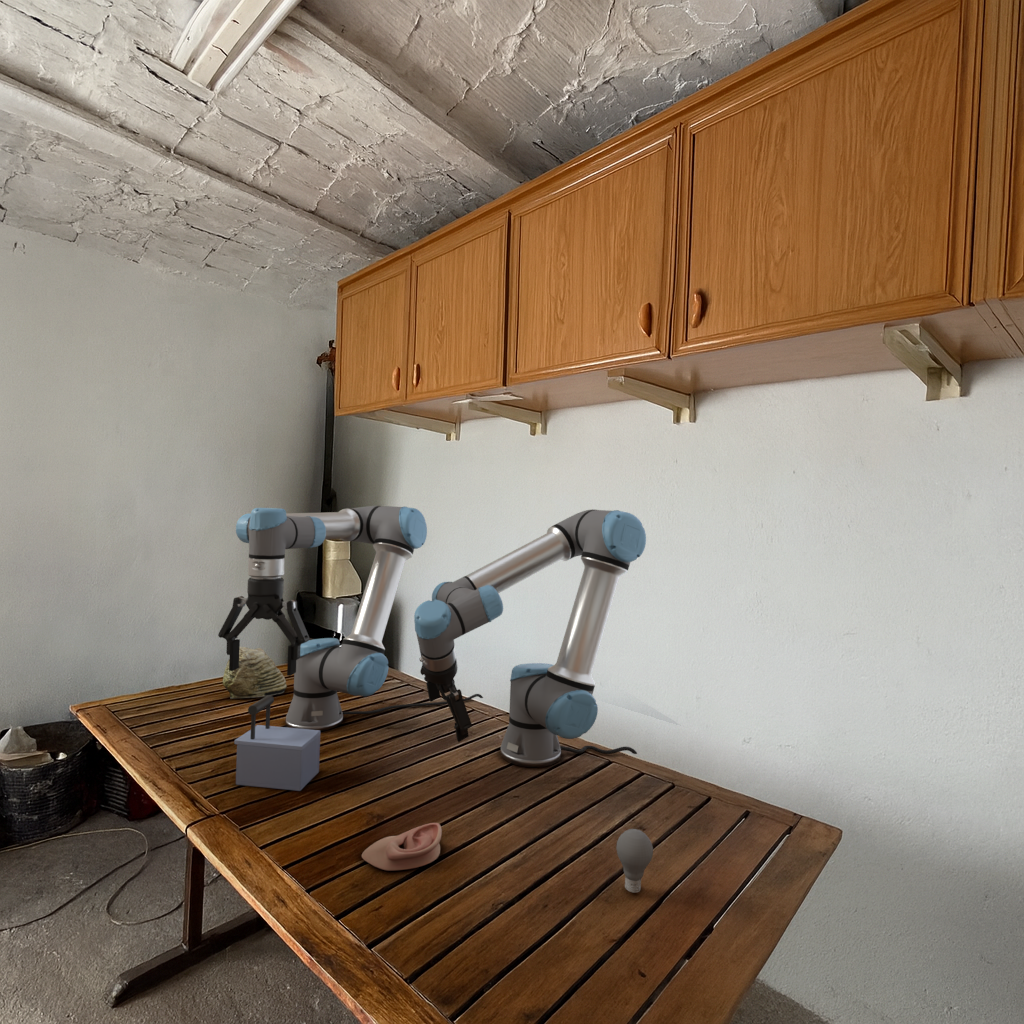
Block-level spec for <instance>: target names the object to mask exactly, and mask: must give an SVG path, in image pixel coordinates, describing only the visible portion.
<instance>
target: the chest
mask: <svg viewBox="0 0 1024 1024" xmlns="http://www.w3.org/2000/svg"><path fill="white" fill-rule="evenodd" d="M320 753H321V734H320V735H319V736H318V737H316V738H315V739H314V740H313V741H312V742H311V743H309V744H308V745H307V746H306V747H305V748H304V749H303V750H293V749H282V748H271V747H260V746H249V745H238V744H236V763H235V764H236V765H235V767H236V768H235V785H237V786H245V787H246V786H247V787H257V788H266V789H267V788H268V789H276V790H285V791H296V792H301V791H302V790H303V789H304V788H305V787H306V786H307V785H308V784H309V783H310V782H311V781H312V780H313V779H314V778H315V777H316V776H317V775H318V774H319V772H320V755H321V754H320Z"/></svg>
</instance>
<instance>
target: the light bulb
mask: <svg viewBox="0 0 1024 1024" xmlns="http://www.w3.org/2000/svg"><path fill="white" fill-rule="evenodd" d="M615 849H616V854H617V857H618V859H619V861H620V863H621V865H622V867H623V873H624V874H623V875H624V876H625V878H624V888H625V890H627V891H628V892H630V893H634V894H635V893H639V892H640V891H641V889H642V887H641V886H642V879H643V877H644V875H645V871H646V868H647V867H648V866H649V864H650V863H651V861H652V859H653V855H654V847H653V843H652V841H651V838H649V836H648V835H647V834H646V833H645V832H643V831H642V830H641V829H636V828H629V829H627V830H625V831H623V832H622V833H621V834H620V835H619V837H618V839H617V841H616V847H615Z"/></svg>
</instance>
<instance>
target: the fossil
mask: <svg viewBox="0 0 1024 1024" xmlns="http://www.w3.org/2000/svg"><path fill="white" fill-rule="evenodd" d="M222 676H223V677H222V685H223V687H224V688H225V690H226V691H228V693H229V698H230V699H250V698H264V697H266V696H268V695H271V696H272V697H273V696H275V695H281V694H284V693H285V691H286V689H287V687H288V686H287V680H286V678H285V676H284V674H283V673H282V672H281V669H279V668H278V667H277V665H276V663H275V662H274V660H273V659H272V658H271V657H270V656H269V655H268V654H267V653H266V652H265V650H264V649H263V648H260V647H258V648H251V647H247V646H246V647H245V646H240V650H239V668H238V669H236V670H233V671H229V659H228V660H227V663H226V666H225V668H224V671H223V675H222Z"/></svg>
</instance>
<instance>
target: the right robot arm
mask: <svg viewBox="0 0 1024 1024" xmlns="http://www.w3.org/2000/svg"><path fill="white" fill-rule="evenodd" d="M646 543H647V534H646V530H645V528H644V525H643V523H642V522H641V520H640V518H638V517H637V516H635V514H633V513H631V512H628V511H623V510H617V509H616V510H605V509H603V510H602V509H587V510H586V509H585V510H582V511H580V512H577V513H575V514H572V515H571V516H569V517H567V518H565V519H563V520H561V521H559V522H557V523H556V524H553V525H551V526H549V527H548V528H547V530H546V533H545V534H543V535H541V536H539V537H537V538H536V539H533V540H531V541H529V542H528V543H525V544H523V545H522V546H520V547H518V548H516V549H514V550H512V551H510V552H509V553H507V554H505V555H503V556H501V557H499V558H497V559H495V560H493V561H492V562H490V563H487V564H486V565H483V566H482V567H480V568H478V569H476V570H474V571H472V572H470V573H469V574H466V575H464V576H462V577H460V578H458V579H456V580H454V581H443V582H440V583H438V584H437V585H436V586H435V588H434V589H433V590H432V593H431V600H429V599H428V600H425V601H423V602H422V603H421V604H419V605H418V606H417V608H416V609H415V611H414V616H413V617H414V618H413V619H414V621H413V622H414V631H415V633H416V634H415V635H416V638H417V643H418V647H419V653H420V657H419V662H421V663H422V664H421V667H420V674H421V675H422V676H424V677H423V679H424V682H426V690H427V695H428V700H429V701H430V703H433V702H434V701H435V700H437V699H439V698H441V697H442V699H443V701H447V703H448V704H447V706H448V709H449V710H450V712H451V715H452V717H453V719H454V726H453V728H454V729H455V736H456V741H457V743H460V742H462V741H463V740H466V739H467V738H469V729H470V728H472V727H473V723H472V721H471V718H470V715H469V712H468V709H467V707H466V703H465V701H463V699H464V697H463V694H462V690H461V689H460V688H457V686H456V683H455V679H454V678H455V677H456V675H457V673H458V662H457V653H456V652H457V651H456V644H455V640H456V639H458V638H460V637H462V636H464V635H466V634H468V633H470V632H472V631H474V630H476V629H478V628H481V627H482V626H484V625H486V624H488V623H491V622H492V621H494V620H495V619H498V618H499V617H500V616H501V615H502V614H503V612H504V604H503V603H504V602H503V600H502V597H501V595H500V594H501V593H502V592H504V591H506V590H508V589H510V588H511V587H513V586H515V585H517V584H519V583H520V582H522V581H524V580H526V579H528V578H530V577H532V576H533V575H535V574H537V573H539V572H541V571H543V570H544V569H546V568H548V567H550V566H552V565H554V564H555V563H558V562H559V561H563V562H568V561H569V560H571V559H573V558H575V557H580V560H581V562H582V564H583V567H584V568H583V571H582V575H581V579H580V581H579V585H578V588H577V592H576V595H575V599H574V601H573V605H572V609H571V612H570V615H569V619H568V622H567V625H566V629H565V632H564V636H563V639H562V642H561V646H560V648H559V653H558V656H557V660H556V662H555V664H551V663H546V662H545V663H542V662H531V663H530V662H529V663H521V664H517V665H515V666H513V667H512V669H511V674H510V678H509V679H510V680H509V681H510V689H509V710H508V711H509V712H508V713H509V715H508V725H507V728H506V730H505V733H504V736H503V738H502V741H501V745H500V752H499V753H500V757H501V758H502V759H503V760H504V761H506V762H508V763H509V764H511V765H515V766H519V767H525V768H544V767H549V766H552V765H555V764H557V763H558V762H559V761H560V760H561V758H562V751H565V752H570V753H573V754H577V755H579V754H583V753H584V752H586V751H587V750H589V751H591V750H592V751H594V752H596V753H599V754H602V755H612V754H613V755H614V754H616V753H620V752H624V751H628V752H630V753H631V754H633V755H637V754H638V752H637V751H636V750H635V749H634V748H633V747H630V746H619V747H617V748H613V749H601V748H599V747H596V746H594V745H584V746H583V747H582V748H581V749H575V748H573V747H568V746H563V745H560V740H559V737H560V738H562V739H565V740H574V739H578V738H580V737H582V735H584V734H587V733H588V732H589V731H590V730H591V728H592V727H593V726H594V724H595V722H596V720H597V717H598V714H599V713H598V712H599V709H598V708H599V707H598V703H597V701H596V698H595V697H594V690H595V687H596V682H595V679H594V678H593V676H592V673H593V670H594V666H595V663H596V660H597V656H598V653H599V649H600V645H601V642H602V639H603V636H604V631H605V628H606V626H607V622H608V618H609V614H610V611H611V608H612V604H613V600H614V596H615V594H616V590H617V587H618V582H619V579H620V577H622V576H624V575H625V574H627V573H628V572H629V570H630V569H629V568H630V565H631V563H632V562H634V561H637V559H638V558H640V557H641V556H642V554H643V553H644V551H645V549H646V545H647V544H646ZM447 693H448V694H447ZM446 694H447V695H446Z"/></svg>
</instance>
